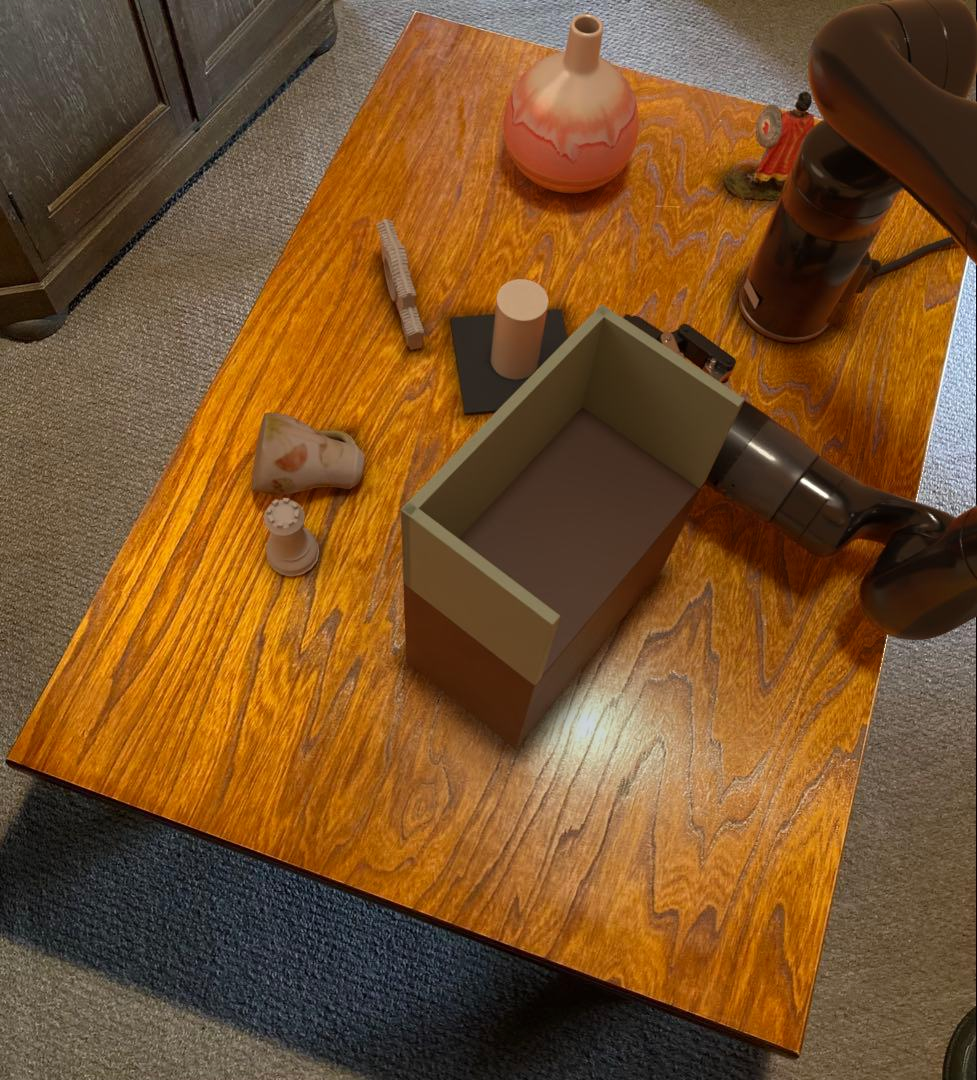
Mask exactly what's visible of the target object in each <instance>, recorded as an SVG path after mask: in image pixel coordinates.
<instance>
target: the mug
mask: <svg viewBox="0 0 977 1080" xmlns="http://www.w3.org/2000/svg"><path fill="white" fill-rule="evenodd" d="M340 440H341V441H340ZM365 461H366V458H365V454H364V451H363V450H362V449H361V448H360V447H359V446H358V445H357V444H356V441H355V439H353V437H352V436H351V435H350V434H348V433H346V432H345V431H343V430H337V429H331V430H330V429H322V430H321V429H315V428H313V427H312V426H310V425H308V424H306V423H305V422H303V421H302V420H300V419H298V418H296V417H294V416H292V415H289V414H286V413H280V412H265V413H263V416H262V419H261V423H260V427H259V432H258V437H257V442H256V447H255V454H254V461H253V467H252V475H251V490H252V491H254V492H256V493H260V494H263V495H267V496H285V495H291V494H297V493H299V492H304V491H308V490H311V489H316V488H325V487H326V488H327V487H328V488H339V489H345V490H350V489H352V488H353V487H355V486H357V485H358V484H359V483H360V482H361V479H362V477H363V474H364V470H365V463H366V462H365Z"/></svg>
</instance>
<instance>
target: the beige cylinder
mask: <svg viewBox="0 0 977 1080" xmlns="http://www.w3.org/2000/svg"><path fill="white" fill-rule="evenodd" d="M549 301H550V300H549V296H548V293H547V291H546V289H545V288H544V287H543V286H541V285H540V284H539V283H538V282H535V281H533V280H530V279H526V278H517V279H511V280H509V281H507V282H505V283H504V284H502V286H501V287H500V288H499V290H498V291H497V293H496V298H495V310H494V314H495V318H494V328H493V338H492V348H491V364H492V366H493V368H494V370H495V371H496V372H497V373H498V374H500V375H501V376H503V377H505V378H508V379H513V380H519V379H524V378H526V377H528V376H530V375H532V374H533V373H534V372H535V370H536V369H537V367H538V364H539V358H540V352H541V346H542V340H543V334H544V328H545V322H546V316H547V310H549V304H550V302H549Z"/></svg>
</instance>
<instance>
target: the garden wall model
mask: <svg viewBox="0 0 977 1080" xmlns="http://www.w3.org/2000/svg"><path fill="white" fill-rule="evenodd" d="M375 225H376V229H377V233H378V236H379V238H380V242H381V259H382V262H383V269H384V275H385V280H386V285H387V290H388V292H389V295H390V298H391V300H392V302H395V304H396V307H397V312H398V314H399V317H400V320H401V328H402V330H403V334H404V338H405V341H406V345H407V346H408V348H409V350H410V351H411V350H417V349H422V348H423V345H424V334H425V329H424V327H423V324H422V321H420V320H421V318H420V314H419V311H418V308H417V305H415V298H416V297H417V292H416V289H415V287H414V284H413V281H412V277H411V273H410V269H409V265H408V264H409V263H410V262H409V258H408V254H407V253H406V252H407V250H405V248H406V246H404V245H403V242H401V240H400V238H399V236H398V234H397V230H396V227H395V224H394V220H389V219H388V218H384V219H383V220H382V221H380V222H378V223H375Z"/></svg>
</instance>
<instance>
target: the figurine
mask: <svg viewBox="0 0 977 1080" xmlns="http://www.w3.org/2000/svg"><path fill="white" fill-rule="evenodd" d="M812 102H813V100H812V94H811V93H810V92H808V91H807V90H806V91H801V92H799V94H798V96H797V100H796V103H795V104H794V105H793V106H794V109H791V110H787V111H785V112H783V113H782V110H781V109H780V107H779V106H777V105H776V104H767V105H766V106H765V107H764V108H763V109H762V110H761V112H760V113H759V115H758V118H757V120H756V124H755V125H756V126H755V138H756V139H755V141H756V142H757V143H758V145H759V146H760V147H762V148H764V149H765V150H764V151H763V153H762V155H761V159H760V163H759V164H758V167H757V168H756V170H754V169H739V170H734V171H732V172H731V171H730V172H726V174H725V176H724V182H723V183H724V185H725V187H726V189H727V191H728V192H730V194H731V195H732V196H733V197H735V196H736V197H737V198H739V199H741V200H745V199H748V200H751V199H754V200H756V201H758V200H760V201H763V200H766V201H768V202H769V201H771V202H773V201H778V198H779V196H780V193H781V191H782V188H783V186H784V183H785V181H786V178H787V176H788V174H789V171H790V169H791V166H792V164H793V161H794V159H795V157H796V154H797V152H798V149H799V147H800V145H801V143H802V141H803V139H804V137H805V136H806V134H807V133H808V132H809V131H810V130H811V129H812V128H813V127H814V126H815V117H814V114H813V113H809V112H808V110H809V109H810V107H811V106H812Z"/></svg>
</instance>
